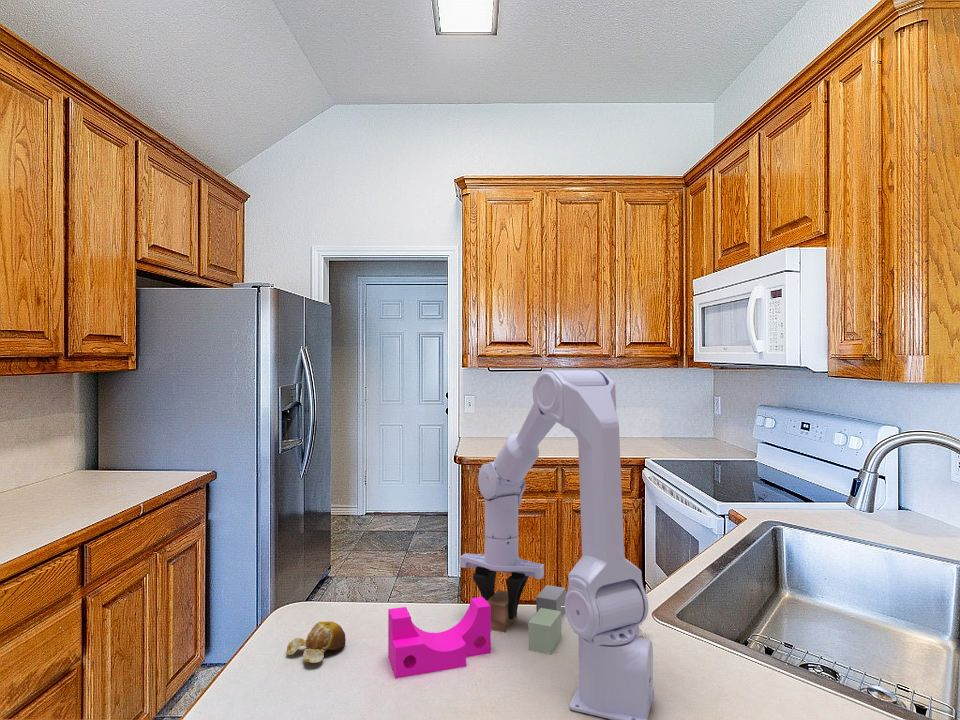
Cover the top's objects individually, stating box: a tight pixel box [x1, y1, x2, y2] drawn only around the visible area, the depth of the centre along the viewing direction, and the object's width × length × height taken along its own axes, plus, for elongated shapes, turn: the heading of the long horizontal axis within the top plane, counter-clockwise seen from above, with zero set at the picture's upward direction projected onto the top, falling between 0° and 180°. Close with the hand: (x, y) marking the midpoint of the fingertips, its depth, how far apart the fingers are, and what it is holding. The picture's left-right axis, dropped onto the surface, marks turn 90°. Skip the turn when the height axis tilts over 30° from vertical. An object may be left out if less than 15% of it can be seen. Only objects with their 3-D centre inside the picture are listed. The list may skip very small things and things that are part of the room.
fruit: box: [285, 620, 347, 664], centre depth 90 cm, size 8×8×4 cm
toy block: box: [387, 596, 492, 680], centre depth 88 cm, size 15×6×8 cm, turn 108°
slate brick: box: [535, 584, 567, 618], centre depth 102 cm, size 4×6×4 cm, turn 156°
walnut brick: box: [487, 589, 518, 633], centre depth 100 cm, size 4×6×4 cm, turn 157°
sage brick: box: [528, 608, 562, 655], centre depth 92 cm, size 4×6×4 cm, turn 156°
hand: (501, 614), depth 100 cm, fingers closed on walnut brick, 3 cm apart
